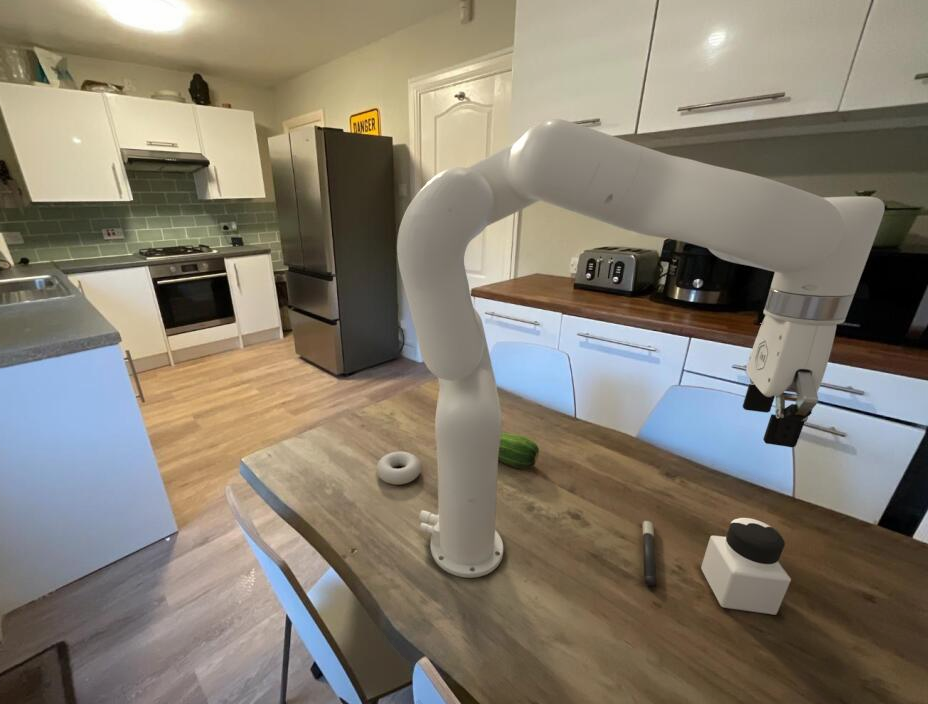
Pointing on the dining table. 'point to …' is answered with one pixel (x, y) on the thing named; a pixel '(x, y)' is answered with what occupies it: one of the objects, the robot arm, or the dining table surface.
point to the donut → (398, 475)
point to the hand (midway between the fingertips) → (766, 426)
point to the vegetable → (517, 451)
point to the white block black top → (747, 567)
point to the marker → (649, 553)
